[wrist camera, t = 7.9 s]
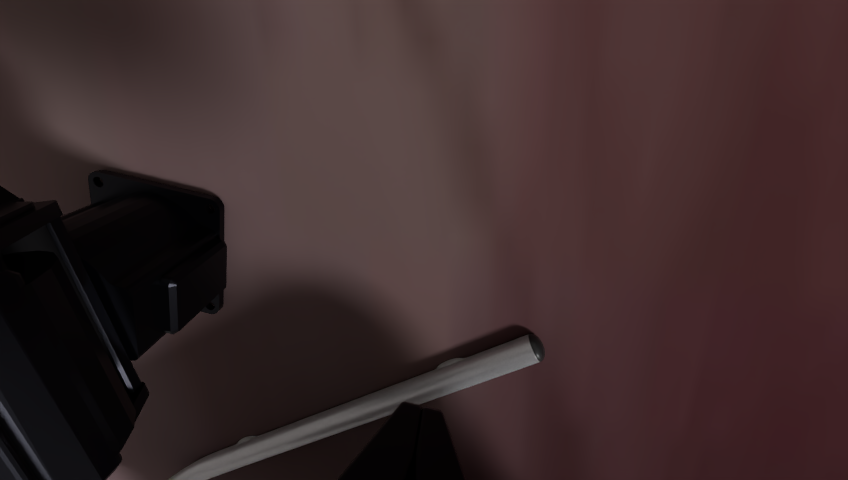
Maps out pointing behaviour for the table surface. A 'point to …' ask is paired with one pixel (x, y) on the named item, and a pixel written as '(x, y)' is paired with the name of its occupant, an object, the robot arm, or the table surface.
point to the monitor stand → (371, 407)
